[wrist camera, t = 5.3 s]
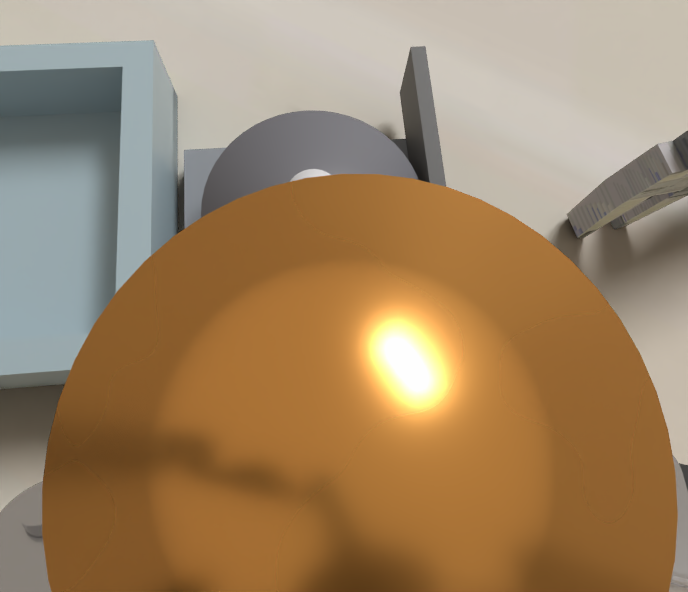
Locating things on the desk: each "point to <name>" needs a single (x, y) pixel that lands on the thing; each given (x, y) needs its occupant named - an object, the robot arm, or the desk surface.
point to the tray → (78, 192)
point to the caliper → (636, 189)
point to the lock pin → (359, 410)
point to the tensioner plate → (318, 149)
